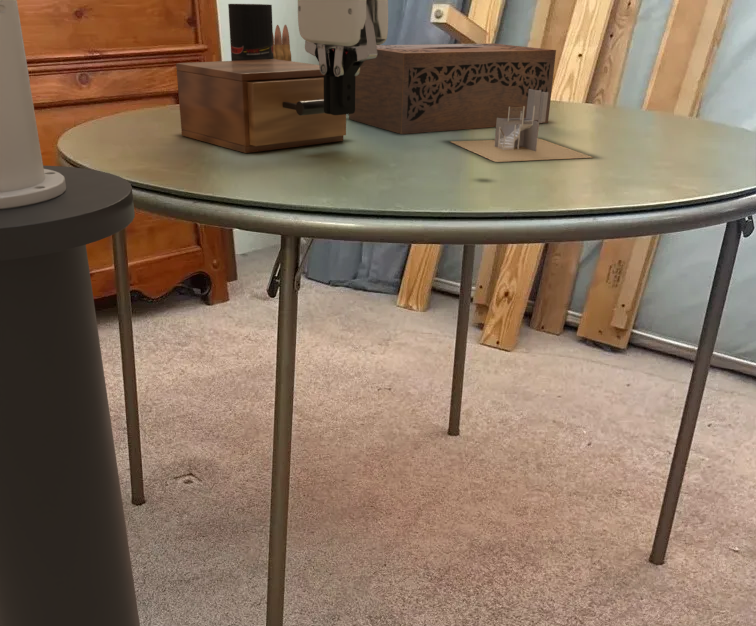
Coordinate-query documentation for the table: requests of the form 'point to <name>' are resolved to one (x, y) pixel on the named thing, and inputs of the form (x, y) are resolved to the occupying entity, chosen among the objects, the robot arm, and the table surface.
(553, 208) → the table surface
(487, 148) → the architectural model
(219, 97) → the cabinet
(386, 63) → the tissue box cover
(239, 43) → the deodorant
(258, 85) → the drawer
